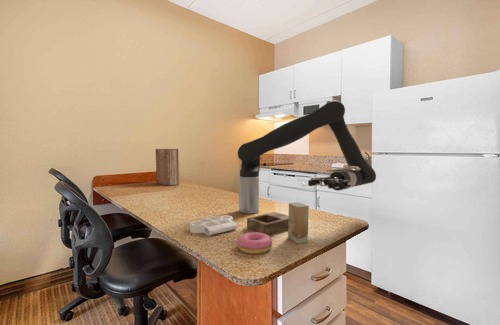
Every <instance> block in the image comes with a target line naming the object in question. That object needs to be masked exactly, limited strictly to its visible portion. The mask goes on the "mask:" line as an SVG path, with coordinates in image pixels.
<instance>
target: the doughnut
mask: <svg viewBox="0 0 500 325" xmlns="http://www.w3.org/2000/svg"><path fill="white" fill-rule="evenodd" d="M236 244H237V247H238V250H240V251H242V252H243V253H245V254H251V255H259V254H263V253H267V252H268V251H269V250H270V249H271V248H272V245H273V240H272V237H271V236H270V235H269V236H268V235H266V234H264V233H259V232H255V231H251V232H244V233H243V234H241V235H240V236H239V237H238V238H237V241H236Z"/></svg>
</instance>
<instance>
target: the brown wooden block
mask: <svg viewBox="0 0 500 325" xmlns="http://www.w3.org/2000/svg"><path fill="white" fill-rule="evenodd" d="M179 165H180V163H179V148H155V171H156V172H155V174H156V175H155V176H156V178H155V179H156V184H158V185H159V184H160V185H163V186H167V187H170V186H174V185H175V186H176V185H177V186H180V172H179V171H180V170H179V168H180V167H179Z"/></svg>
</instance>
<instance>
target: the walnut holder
mask: <svg viewBox="0 0 500 325" xmlns="http://www.w3.org/2000/svg"><path fill="white" fill-rule="evenodd" d="M288 220H289V214H283V213H280V212H277V211H272V212H269V213H264V214H259V215H255V216H251V217H248V218H246V229H248V230H249V231H251V232H259V233H264V234H266V235H268V236H269V237H270V236H272V235H275V234H277V233H281V232H285V231H288Z"/></svg>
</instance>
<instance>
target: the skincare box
mask: <svg viewBox="0 0 500 325" xmlns="http://www.w3.org/2000/svg"><path fill="white" fill-rule="evenodd" d="M309 209H310V206H308V205H306V204H304V203H303V202H299V201H298V202H297V201H296V202H288V216H289V220H288V230H287V237H288V239H290V240H291V241H293V242H294V243H296V244H302V243H308V242H309V215H310V214H309V212H310V211H309Z"/></svg>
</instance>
